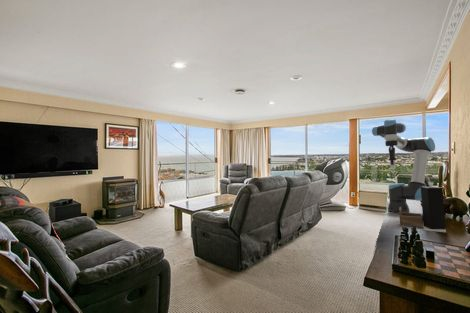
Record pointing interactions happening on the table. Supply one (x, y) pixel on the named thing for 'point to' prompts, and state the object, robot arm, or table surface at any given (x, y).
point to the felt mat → (434, 229)
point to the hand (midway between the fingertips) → (393, 169)
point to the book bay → (410, 219)
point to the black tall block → (433, 207)
